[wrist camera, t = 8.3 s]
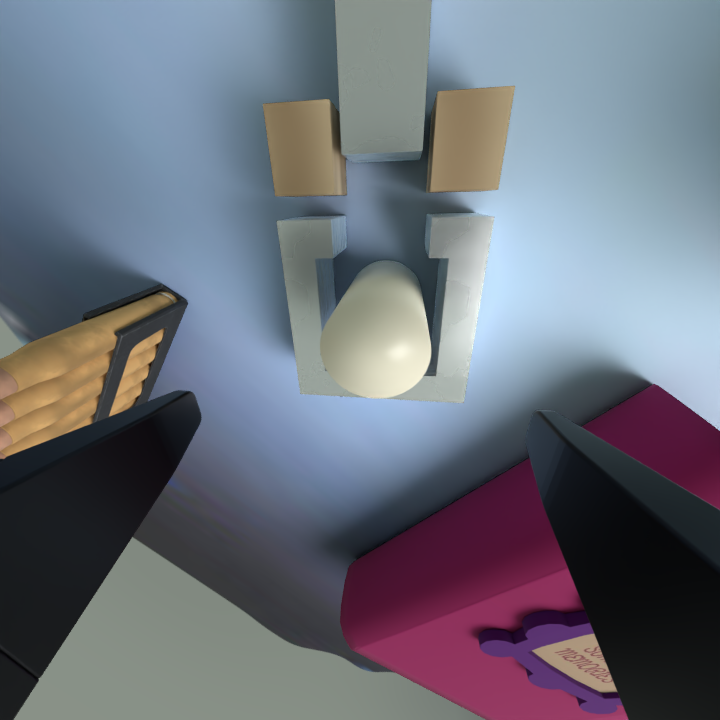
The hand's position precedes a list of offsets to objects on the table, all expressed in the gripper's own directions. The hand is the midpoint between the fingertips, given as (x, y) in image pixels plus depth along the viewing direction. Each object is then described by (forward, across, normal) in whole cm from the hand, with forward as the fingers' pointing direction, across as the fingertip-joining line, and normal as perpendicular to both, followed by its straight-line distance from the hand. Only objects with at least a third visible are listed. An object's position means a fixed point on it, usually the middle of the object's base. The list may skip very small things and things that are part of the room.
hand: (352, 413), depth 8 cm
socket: (+10, 0, 0) cm, 10 cm away
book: (+11, -14, +22) cm, 28 cm away
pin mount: (+10, 0, -7) cm, 12 cm away
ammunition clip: (+11, +16, +4) cm, 19 cm away
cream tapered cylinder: (+10, 0, 0) cm, 10 cm away
